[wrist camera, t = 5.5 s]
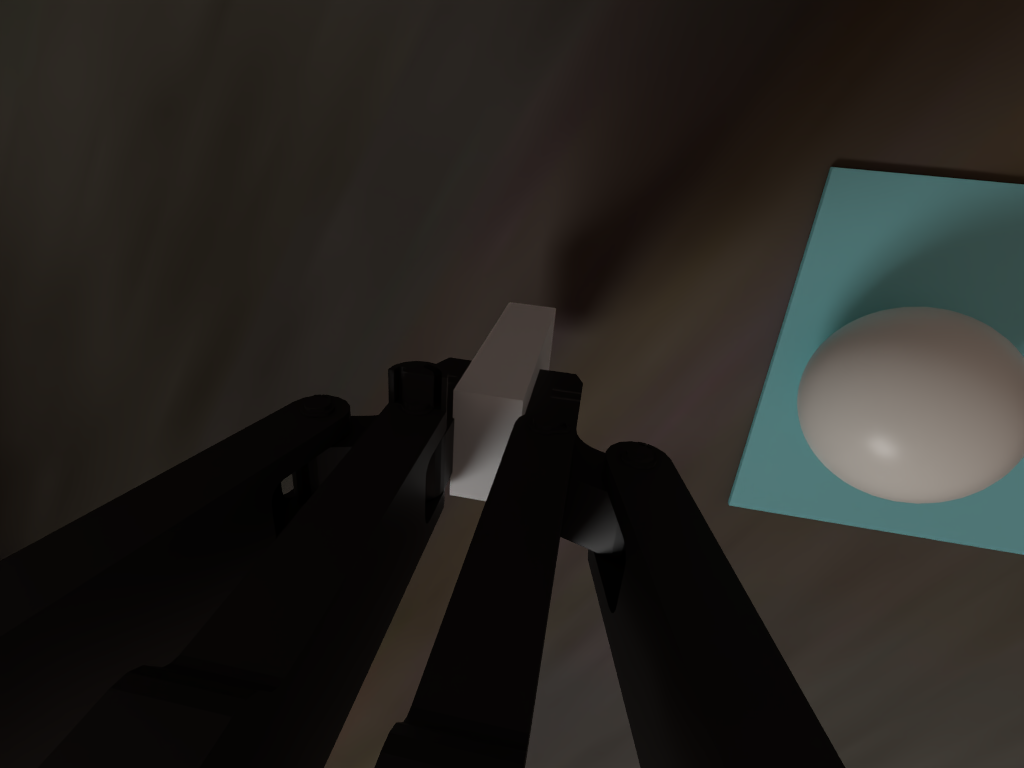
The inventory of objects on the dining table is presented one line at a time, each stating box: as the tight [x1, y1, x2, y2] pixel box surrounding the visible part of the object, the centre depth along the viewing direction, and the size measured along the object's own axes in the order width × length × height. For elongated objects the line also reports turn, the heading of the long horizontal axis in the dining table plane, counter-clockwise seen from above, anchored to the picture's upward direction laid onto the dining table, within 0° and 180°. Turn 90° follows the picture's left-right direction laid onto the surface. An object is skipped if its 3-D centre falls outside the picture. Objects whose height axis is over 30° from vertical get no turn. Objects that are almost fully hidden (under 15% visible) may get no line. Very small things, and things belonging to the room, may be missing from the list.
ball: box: [797, 307, 1024, 504], centre depth 16 cm, size 6×6×6 cm
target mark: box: [728, 167, 1024, 555], centre depth 18 cm, size 12×12×1 cm
